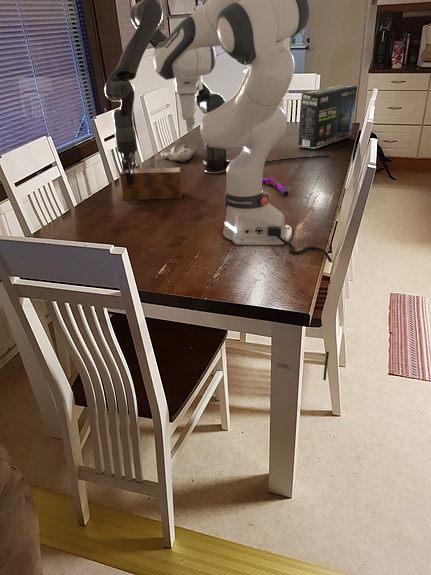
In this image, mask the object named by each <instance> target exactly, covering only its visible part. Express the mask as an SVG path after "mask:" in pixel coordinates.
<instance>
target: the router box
mask: <svg viewBox="0 0 431 575" xmlns="http://www.w3.org/2000/svg"><path fill="white" fill-rule="evenodd" d="M357 93H358V86H356V85H350V84H339V85H338V84H337V85H334V86H328V87H324V88H318V89H314V90H309V91H304V92H301V93H300V109H299V110H300V111H299V124H298V137H297V146H298V145H302V146H307V147H317V146H320V145H323V144H325V143H328V142H331V141H333V140H336V139H338V138H341V137H344V136H347V135H351V136H352V133H353V132H352V131H353V125H354V115H355V109H356V99H357ZM311 151H313V150H312V149H311Z"/></svg>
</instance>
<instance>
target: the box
mask: <svg viewBox="0 0 431 575" xmlns="http://www.w3.org/2000/svg"><path fill="white" fill-rule="evenodd" d="M181 169H182V168H181V167H154V168H153V167H152V168H150V167H149V168H136V169H132V179H133V185H127V180H126V176H124V172H123V169H122V170H121V171H120V172H119V176H120V177H119V179H120V183H121V191H122V198H123V201H135V200H137V201H138V200H139V201H140V200H143V201H144V200H168V199H169V200H176V199H177V200H178V199H182V196H183V183H182V170H181ZM127 172H129V171H128V170H127Z"/></svg>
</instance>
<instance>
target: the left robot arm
mask: <svg viewBox="0 0 431 575" xmlns="http://www.w3.org/2000/svg"><path fill="white" fill-rule="evenodd" d="M163 16H164V11H163V7H162V4H161V3H160V2H159V0H140V1H138V2H137V3H135V4H133V5H132V6H131V7H130V10H129V18H130V21H131V23H132V25H133V26H134V28H135V32H134V33H133V34H132V37H130V39H129V41H128V42H127V43H126V46H125V47H124V49H123V51H122V53H121V56H120V59H119V61H118V64H117V67H116V68H115V69H114V70H113V71H112V73H111V75H110V76H109V77H108V78H107V80H106V83H105V85H104V94H105V97H106V98H107V100H109V101H111V102H120V108H119V107H118V108H115V109H113V111H112V117H113V124H114V137H115V143H116V144H115V145H116V150H117V152H118V153H120V154H122V158H121V159H122V160H121V166H122V170H123V172H124V176H126V180H127V185H133V179H132V169H137V168H136V167H137V163H136V162H137V161H136V152H137V151H138V141H137V135H136V133H137V132H136V128H135V124H134V123H135V122H134V116H133V112H134V104H135V98H136V97H135V96H136V92H135V87H134V85H133V83H132V82H131V81H132V80H134V79H136V77H137V74H138V72H139V69H140V66H141V63H142V61H143V58H144V55H145V53H146V50H147V49H148V46H149V45H151V46H152V48H153V49H154V50H155V48H156V47H157V45H158V44H159V43H160V42H164V41H165V40H166V39H167V38H168V37H169V36H167V35H166V34H165V33H164V32H163V31H162V30H161V29H160V27H159V26H160V24H161V23H162V21H163ZM198 93H199V95H198V96H197V108H198V109H199V110H200V111H201V112H202V114H206V113H208V112H210V111H213V110H215V109H217V108H218V107H220V106H222V105H223V104H224V103H226V100H225V98H224V96H223V95H222V94H220V93H217V92H213V91H211V89H210V88H209V87H208V86H207V85H206V84H205V82H204V81H203V80H202V90H200V91H199V92H198ZM202 142H203V159H202V163H203V165H204V173H206V174H211V175H217V174H222V173H224V172H226V169H227V166H228V164H229V163H230V162H231V161H232V159H227V149H222V148H211V147H209V146H208V145H207V144H206V143H205V142H204V140H203V139H202ZM323 155H324V156H320V155H311V156H312V157H307V156H297V157H298V158H294V157H286V158H287V159H284V158H278V159H279V160H276V159H271V160H272V161H270V160H266V162H265V164H270V163H274V162H282V161H292V160H304V159H316V158H317V159H318V158H328V157H331V154H323ZM329 155H330V156H329ZM127 170H128V171H129V172H127Z"/></svg>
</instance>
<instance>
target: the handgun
mask: <svg viewBox="0 0 431 575" xmlns="http://www.w3.org/2000/svg"><path fill="white" fill-rule="evenodd" d="M262 184H266V185H269V186H272V187H273V188H276V189H278V191H279V192H280V193H281V194H282V195H283V196H284V197H287V196H288V195H289V191H287V189H285V187H283V185H282V184H280V183H279V182H278V181H277V179H275V177H273V176H269V177H263V179H262Z"/></svg>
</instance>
